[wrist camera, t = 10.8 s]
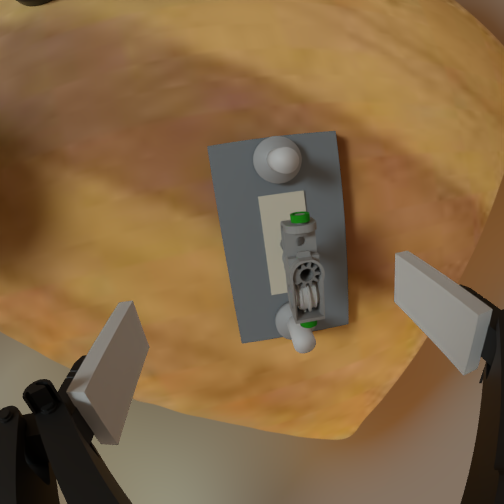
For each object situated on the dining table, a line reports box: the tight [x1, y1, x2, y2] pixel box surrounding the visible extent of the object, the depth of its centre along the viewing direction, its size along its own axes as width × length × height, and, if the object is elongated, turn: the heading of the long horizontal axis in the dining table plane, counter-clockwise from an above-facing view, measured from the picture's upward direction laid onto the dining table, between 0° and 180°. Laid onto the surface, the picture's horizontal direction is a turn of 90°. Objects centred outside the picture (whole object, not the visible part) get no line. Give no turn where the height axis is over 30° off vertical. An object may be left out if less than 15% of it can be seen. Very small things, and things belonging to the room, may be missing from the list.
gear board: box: [207, 131, 348, 353], centre depth 34 cm, size 24×14×8 cm, turn 8°
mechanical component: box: [280, 211, 325, 328], centre depth 31 cm, size 3×10×10 cm, turn 8°
